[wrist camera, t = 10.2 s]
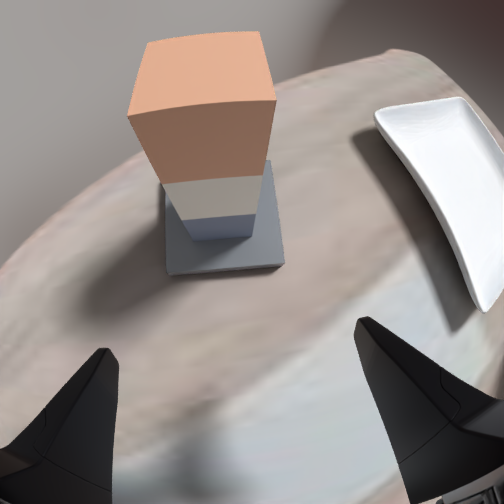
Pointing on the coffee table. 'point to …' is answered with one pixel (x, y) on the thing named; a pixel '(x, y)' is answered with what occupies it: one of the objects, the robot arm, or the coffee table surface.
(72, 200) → the coffee table surface
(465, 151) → the salad plate
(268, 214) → the baseplate
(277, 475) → the coffee table surface
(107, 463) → the robot arm
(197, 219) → the brick stack
